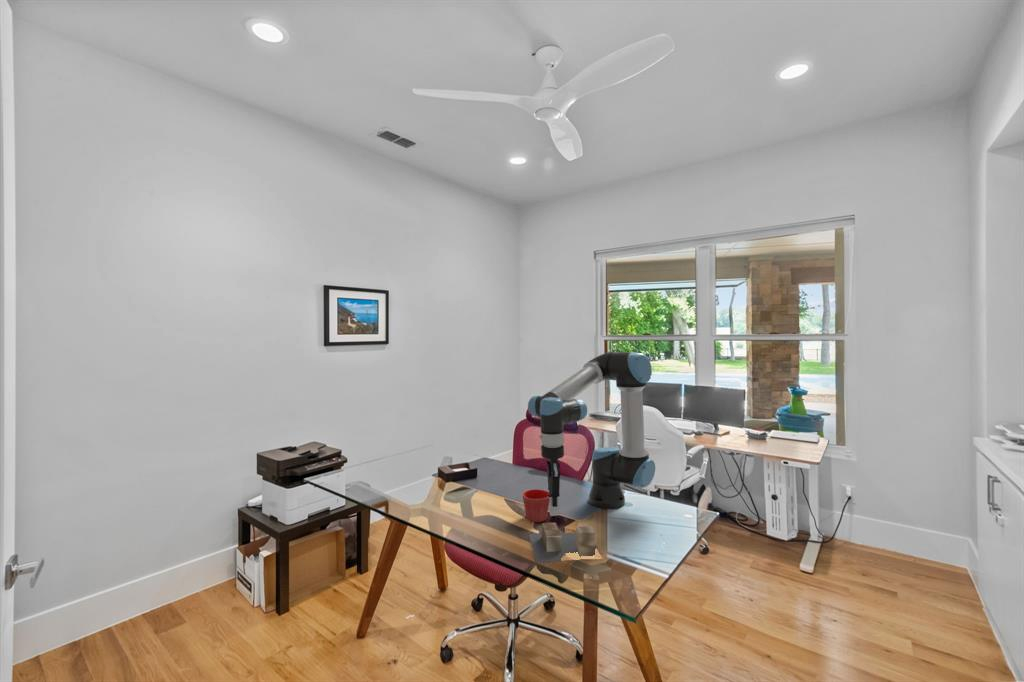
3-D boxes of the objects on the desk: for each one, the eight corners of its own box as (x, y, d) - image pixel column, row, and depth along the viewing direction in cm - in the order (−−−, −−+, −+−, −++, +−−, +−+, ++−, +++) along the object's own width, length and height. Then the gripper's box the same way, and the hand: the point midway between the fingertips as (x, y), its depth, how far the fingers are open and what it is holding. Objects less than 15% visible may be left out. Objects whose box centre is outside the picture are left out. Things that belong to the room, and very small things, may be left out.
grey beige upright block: (591, 549, 153) (590, 525, 153) (595, 556, 148) (594, 532, 148) (576, 550, 152) (576, 526, 152) (579, 557, 147) (579, 533, 147)
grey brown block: (561, 551, 152) (555, 536, 163) (561, 536, 152) (555, 522, 163) (546, 552, 152) (542, 537, 163) (546, 537, 152) (541, 523, 162)
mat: (588, 532, 166) (588, 531, 166) (603, 559, 147) (603, 558, 147) (528, 535, 165) (528, 534, 165) (536, 563, 145) (536, 562, 145)
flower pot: (549, 524, 174) (548, 499, 174) (520, 522, 176) (520, 497, 176) (552, 513, 184) (551, 489, 184) (525, 512, 186) (525, 488, 186)
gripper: (538, 440, 158) (540, 507, 158) (544, 450, 145) (546, 523, 146) (559, 439, 158) (561, 506, 159) (567, 449, 145) (569, 522, 146)
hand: (554, 514), depth 152 cm, fingers closed
